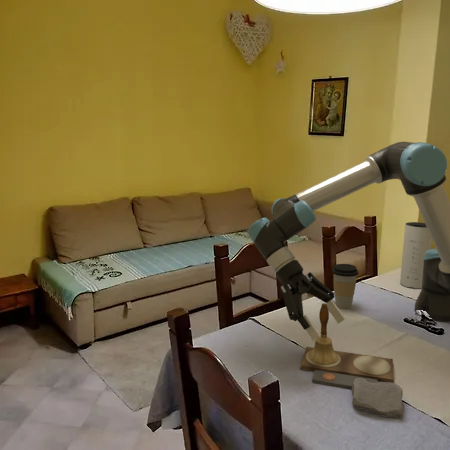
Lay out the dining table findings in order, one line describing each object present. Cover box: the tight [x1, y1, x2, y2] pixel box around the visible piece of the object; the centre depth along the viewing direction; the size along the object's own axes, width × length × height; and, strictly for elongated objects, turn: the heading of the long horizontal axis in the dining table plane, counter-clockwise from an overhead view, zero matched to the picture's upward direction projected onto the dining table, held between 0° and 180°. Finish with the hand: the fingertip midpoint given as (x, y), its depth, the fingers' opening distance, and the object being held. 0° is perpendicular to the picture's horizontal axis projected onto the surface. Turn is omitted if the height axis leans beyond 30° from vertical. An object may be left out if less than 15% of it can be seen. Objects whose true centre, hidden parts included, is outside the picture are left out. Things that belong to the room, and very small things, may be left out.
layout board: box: [299, 346, 395, 384], centre depth 124 cm, size 24×11×2 cm, turn 71°
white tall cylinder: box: [399, 221, 432, 290], centre depth 183 cm, size 11×10×26 cm
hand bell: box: [308, 302, 338, 365], centre depth 124 cm, size 8×8×16 cm
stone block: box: [351, 379, 405, 418], centre depth 107 cm, size 12×5×10 cm
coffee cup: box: [331, 263, 359, 310], centre depth 164 cm, size 9×9×15 cm
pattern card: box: [311, 370, 378, 390], centre depth 116 cm, size 16×5×1 cm, turn 71°
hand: (330, 329), depth 123 cm, fingers open, 13 cm apart
